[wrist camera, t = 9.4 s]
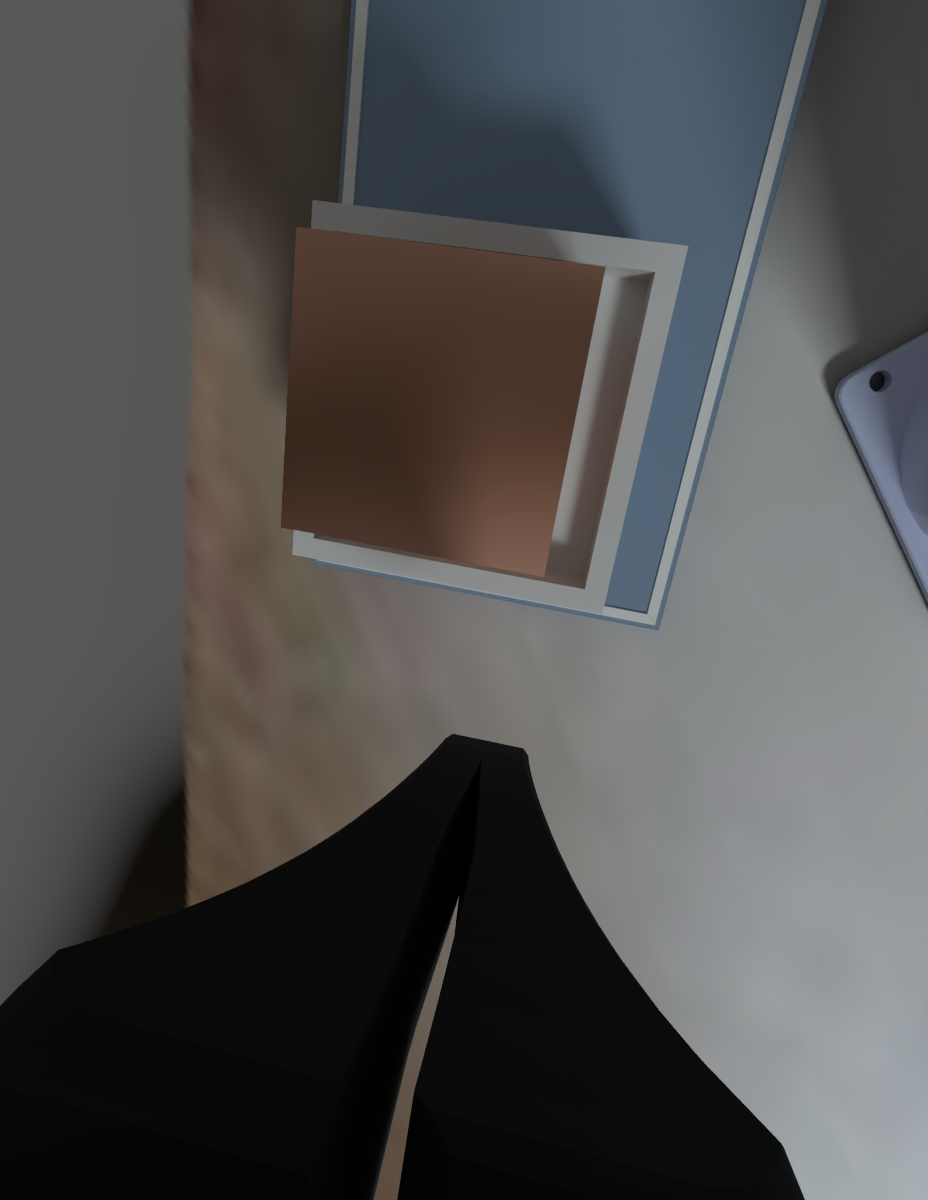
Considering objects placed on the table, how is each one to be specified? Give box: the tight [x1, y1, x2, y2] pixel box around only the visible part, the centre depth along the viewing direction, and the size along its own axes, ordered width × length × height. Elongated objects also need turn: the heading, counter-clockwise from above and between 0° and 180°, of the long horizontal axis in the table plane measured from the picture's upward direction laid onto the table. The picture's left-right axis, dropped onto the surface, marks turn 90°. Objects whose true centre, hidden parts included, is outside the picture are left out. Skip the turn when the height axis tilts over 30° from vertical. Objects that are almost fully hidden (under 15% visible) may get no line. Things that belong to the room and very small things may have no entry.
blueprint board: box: [313, 0, 828, 630], centre depth 16 cm, size 22×11×1 cm, turn 172°
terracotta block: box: [281, 226, 606, 577], centre depth 12 cm, size 4×4×5 cm
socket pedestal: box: [293, 200, 688, 614], centre depth 15 cm, size 8×8×4 cm
